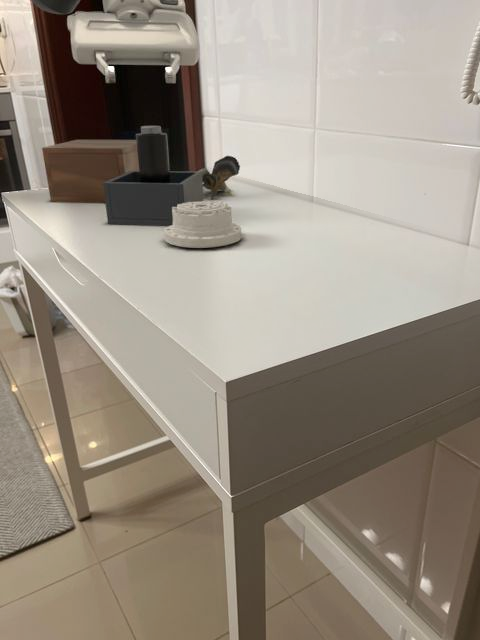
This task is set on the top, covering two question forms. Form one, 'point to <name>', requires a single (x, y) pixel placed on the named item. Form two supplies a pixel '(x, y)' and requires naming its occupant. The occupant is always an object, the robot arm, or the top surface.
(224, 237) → the mechanical component
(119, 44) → the robot arm
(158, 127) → the spray can
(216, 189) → the toy chipmunk
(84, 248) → the top surface
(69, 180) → the cabinet
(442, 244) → the top surface
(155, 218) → the bin
